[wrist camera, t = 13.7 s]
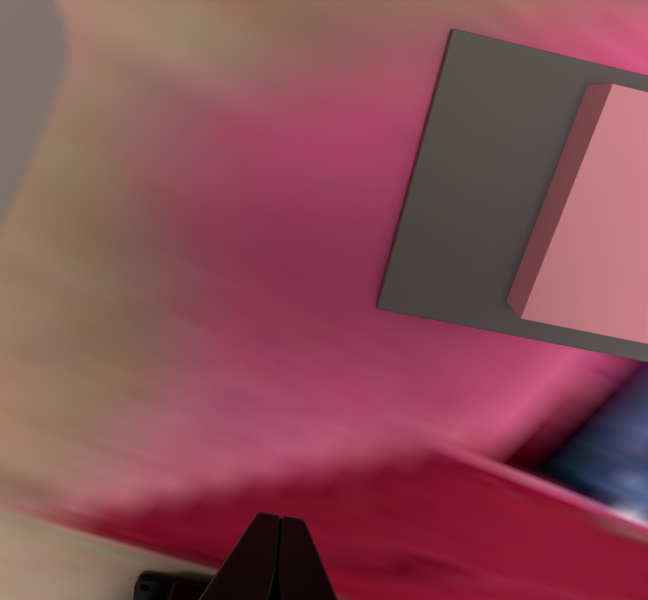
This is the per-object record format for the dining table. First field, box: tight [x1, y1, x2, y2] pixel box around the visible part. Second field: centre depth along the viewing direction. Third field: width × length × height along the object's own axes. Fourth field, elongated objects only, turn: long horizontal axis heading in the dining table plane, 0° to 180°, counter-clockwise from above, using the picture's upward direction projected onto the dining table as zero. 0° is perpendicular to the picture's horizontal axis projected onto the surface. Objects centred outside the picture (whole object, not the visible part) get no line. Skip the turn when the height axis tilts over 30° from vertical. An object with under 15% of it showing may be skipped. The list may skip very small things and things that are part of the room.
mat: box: [376, 29, 648, 362], centre depth 19 cm, size 10×12×1 cm
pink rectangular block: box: [506, 84, 648, 344], centre depth 18 cm, size 8×2×7 cm
